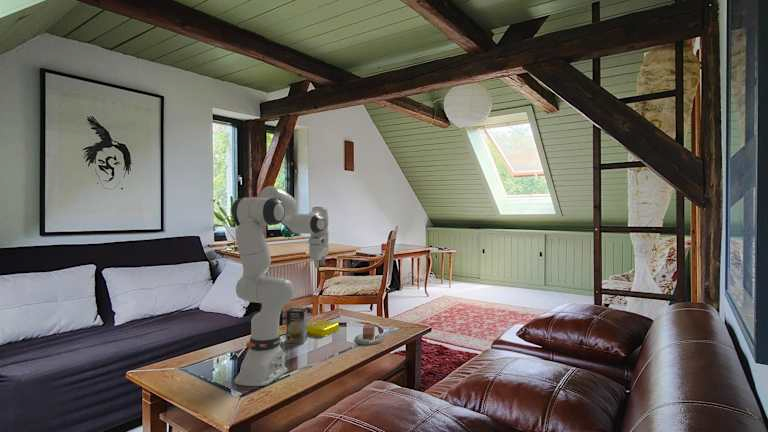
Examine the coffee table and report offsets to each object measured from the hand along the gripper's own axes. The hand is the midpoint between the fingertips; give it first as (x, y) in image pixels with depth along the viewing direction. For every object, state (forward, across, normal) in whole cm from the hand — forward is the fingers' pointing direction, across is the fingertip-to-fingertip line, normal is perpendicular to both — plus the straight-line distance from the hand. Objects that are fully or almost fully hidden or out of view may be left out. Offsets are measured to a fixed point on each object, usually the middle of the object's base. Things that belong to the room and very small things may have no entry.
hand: (319, 266), depth 213 cm
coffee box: (+37, +6, -10) cm, 39 cm away
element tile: (+38, -12, -3) cm, 40 cm away
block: (+36, -2, +25) cm, 44 cm away
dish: (+37, -2, +25) cm, 45 cm away
